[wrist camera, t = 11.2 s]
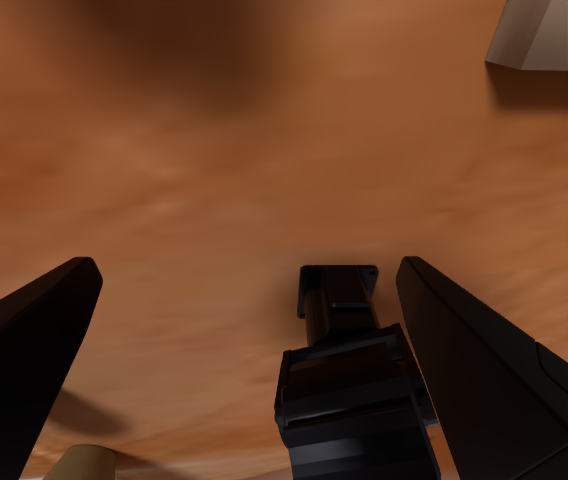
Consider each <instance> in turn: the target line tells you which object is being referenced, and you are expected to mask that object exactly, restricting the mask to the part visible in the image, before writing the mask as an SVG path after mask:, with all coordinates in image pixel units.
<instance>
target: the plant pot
mask: <svg viewBox="0 0 568 480" xmlns="http://www.w3.org/2000/svg"><path fill="white" fill-rule="evenodd" d="M115 458H116V456H115V454H114V452H112V451H111V450H109V449H106V448H103V447H99V446H94V445H77V446H73V447H71V448H69V449H68V450H67V451H66V453H65V454H64V455H63V456H62V457H61V458H60V459H59V461H58V462H57V463H56V464H55V465H54V466H53V468H52V469H51V470H50V471H49V472H48V473H47V475H46V476H45V477H44V478H43V479H42V480H115Z"/></svg>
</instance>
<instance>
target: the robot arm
mask: <svg viewBox="0 0 568 480" xmlns="http://www.w3.org/2000/svg"><path fill="white" fill-rule="evenodd" d="M304 271H308V272H304ZM371 271H372V272H371ZM377 276H378V269H377V267H376V266H374V265H305V266H302V267H301V268H300V278H299V293H298V307H297V316H298V318H300V319H305V321H306V332H307V342H308V347H305V348H301V349H296V350H292V351H291V350H287V351H284V352H283V358H282V362H281V368H280V374H279V380H278V386H277V392H276V398H275V404H274V410H275V416H274V417H275V422H276V424H278V428H279V432H280V435H281V438H282V441H283V443H284V445H285V446H286V448H287V449H288V451H289V456H290V461H291V466H292V473H293V480H441V473H440V469H439V466H438V463H437V460H436V457H435V454H434V451H433V448H432V446H431V442H430V439H429V437H428V434H427V431H426V428H425V427H431V426H437V425H438V421H437V417H436V414H435V411H434V408H433V405H432V402H433V404H434V407H435V410H436V413H437V416H438V418H439V421H440V424H441V427H442V430H443V432H444V435H445V438H446V441H447V444H448V446H449V449H450V452H451V455H452V457H453V460H454V463H455V466H456V469H457V471H458V474H459V477H460V480H568V362H566V361H565V360H563V359H562V358H560V357H559V356H557V355H556V354H555V353H553V352H552V351H550V350H549V349H548V348H546V347H545V346H543V345H542V344H541V343H539V342H535V339H533V338H532V337H531V336H529V335H528V334H526V333H525V332H524V331H522V330H521V329H519V328H518V327H517V326H515V325H514V324H512V323H511V322H510V321H508V320H507V319H505V318H504V317H503V316H501V315H500V314H498V313H497V312H496V311H494V310H493V309H491V308H490V307H489V306H487V305H486V304H484V303H483V302H482V301H480V300H479V299H477V298H476V297H475V296H473V295H472V294H470V293H469V292H468V291H466V290H465V289H464V288H462V287H461V286H459V285H458V284H457V283H455V282H454V281H452V280H451V279H450V278H448V277H447V276H445V275H444V274H443V273H441V272H440V271H438V270H437V269H436V268H434V267H433V266H431V265H430V264H429V263H427V262H426V261H424V260H423V259H422V258H420V257H418V256H405V257H404V258H403V259H402V261H401V264H400V267H399V270H398V273H397V276H396V285H397V289H398V294H399V298H400V302H401V307H402V311H403V315H404V320H405V324H406V328H407V331H408V334H409V337H410V340H411V343H412V346H413V348H414V351H415V354H416V357H417V360H418V362H419V365H420V368H421V371H422V374H423V376H424V379H425V382H426V385H427V388H428V390H429V393H430V396H431V399H432V402H431V399H430V396H429V394H428V391H427V388H426V385H425V383H424V380H423V378H422V375H421V372H420V370H419V368H418V365H417V363H416V360H415V358H414V356H413V353H412V351H411V349H410V346H409V344H408V342H407V339H406V337H405V335H404V332H403V330H402V328H401V325H400V323H396V324H392V326H389V327H385V328H380V325H379V322H378V318H377V315H376V312H375V309H374V306H373V303H372V300H371V297H372V293H373V290H374V286H375V283H376V279H377ZM102 284H103V279H102V275H101V273H100V271H99V269H98V267H97V265H96V263H95V261H94V260H93V259H92V258H91V257H74V258H72V259H70V260H69V261H67V262H65V263H63V264H62V265H60V266H58V267H56V268H55V269H53V270H51V271H49V272H48V273H46V274H44V275H42V276H41V277H39V278H37V279H35V280H34V281H32V282H30V283H28V284H27V285H25V286H23V287H21V288H20V289H18V290H16V291H14V292H13V293H11V294H9V295H7V296H6V297H4V298H2V299H0V480H19V478H20V476H21V474H22V471H23V469H24V467H25V465H26V463H27V461H28V458H29V456H30V454H31V452H32V450H33V448H34V445H35V443H36V441H37V439H38V437H39V435H40V432H41V430H42V428H43V426H44V424H45V422H46V419H47V417H48V415H49V413H50V411H51V409H52V406H53V404H54V402H55V400H56V398H57V396H58V393H59V391H60V389H61V387H62V385H63V383H64V380H65V378H66V376H67V374H68V372H69V370H70V367H71V365H72V363H73V361H74V359H75V357H76V354H77V352H78V350H79V348H80V346H81V344H82V341H83V339H84V337H85V334H86V332H87V329H88V327H89V324H90V321H91V318H92V315H93V312H94V309H95V306H96V303H97V300H98V297H99V294H100V291H101V288H102Z"/></svg>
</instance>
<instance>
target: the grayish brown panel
mask: <svg viewBox="0 0 568 480" xmlns="http://www.w3.org/2000/svg"><path fill="white" fill-rule="evenodd" d="M485 61H488V62H492V63H496V64H500V65H503V66H507V67H511V68H515V69H519V70H558V71H568V0H507V2H506V5H505V7H504V10H503V13H502V16H501V18H500V21H499V24H498V26H497V29H496V32H495V35H494V37H493V40H492V43H491V45H490V48H489V51H488V54H487V56H486V59H485Z"/></svg>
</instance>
